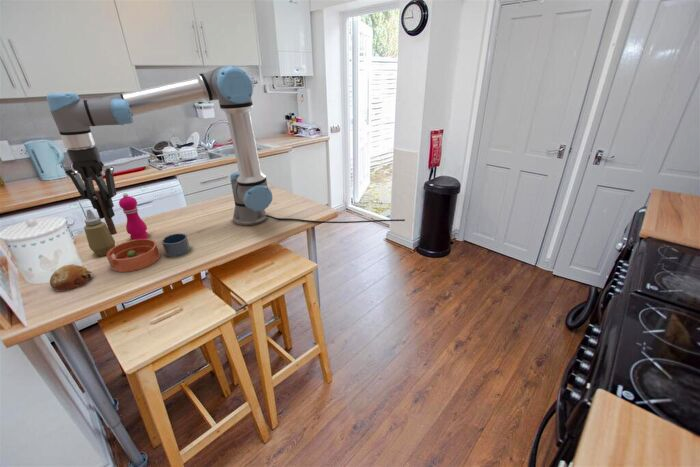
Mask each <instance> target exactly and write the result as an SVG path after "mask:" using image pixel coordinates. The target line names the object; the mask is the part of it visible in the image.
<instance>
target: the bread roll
mask: <svg viewBox="0 0 700 467" xmlns="http://www.w3.org/2000/svg"><path fill="white" fill-rule="evenodd" d="M91 273H92V271H90V270H88V269H87V267H84V266H82V265H79V264H73V263H71V264H65V265H62V266H61V267H59V268H57V269H56V270H55V271H54V272H53V273H52V274H51V276H50V278H49V285H50V286H51V288H52V289H53V290H55V291H58V292H64V291H71V290H75V289H78V288H80V287H83V286H84V285H86V284H87V283H88V282H89V281H90V279H92V276H91Z"/></svg>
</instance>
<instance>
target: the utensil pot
mask: <svg viewBox="0 0 700 467" xmlns="http://www.w3.org/2000/svg"><path fill="white" fill-rule="evenodd" d="M161 244H162V248H163V250H164V254H165V256H167V257H170V258H176V257H181V256H184V255H186V254H188V253H189V252H190V250H191V246H190V242H189V239H188V235H187V234H186V233H173V234H169V235H167V236H165V237H163V238H162V240H161Z"/></svg>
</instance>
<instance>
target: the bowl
mask: <svg viewBox="0 0 700 467" xmlns="http://www.w3.org/2000/svg"><path fill="white" fill-rule="evenodd" d="M131 250H133V251H135V252H136V253H137V255H139V256H136V257H132V258H129V257H128V256H127V253H128V252H129V251H131ZM105 256H106V259H107V262H108V264H109V266H110V268H111V270H112V271H115V272H119V273H128V272H129V273H131V272H134V271H139V270H142V269H145V268H147V267H149V266H152V265H153V264H154V263H157V261H158V260H159V259H160V258H161V251H160V249H159V245H158V243H157V241H156V240H155V239H152V238H145V239H136V240H131V239H129V240H128V241H127V240H126V241H124V242H121V243H119V244H115V247H113V248H111V249H110V250H109V251H108V252H107V254H106V255H105Z"/></svg>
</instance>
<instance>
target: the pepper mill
mask: <svg viewBox="0 0 700 467" xmlns="http://www.w3.org/2000/svg"><path fill="white" fill-rule="evenodd" d="M118 205H119V207H120V208H121V209H122V211H123V214H125V216H126V226H125V230H126V233H127V234H128V235H130V240H136V239H148V237H149V233H148V232H147V230H148V226H147V224H146V223H145V221H144V220H142V218H141V217H140V215H139V212H138V211H139V209H138V207H137V206H138V201H137V199H136V198H135V197H133V196H129V194H128V193H123V194H122V198H119V201H118Z"/></svg>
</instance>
